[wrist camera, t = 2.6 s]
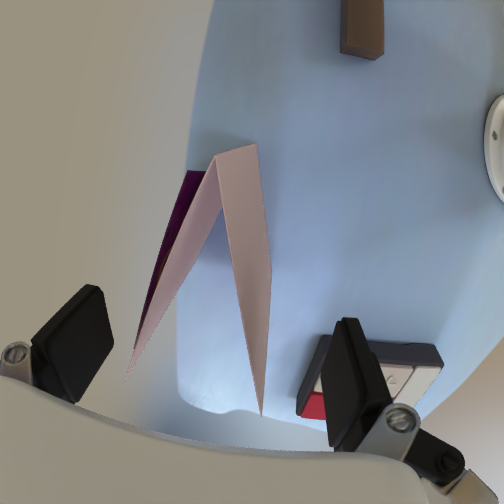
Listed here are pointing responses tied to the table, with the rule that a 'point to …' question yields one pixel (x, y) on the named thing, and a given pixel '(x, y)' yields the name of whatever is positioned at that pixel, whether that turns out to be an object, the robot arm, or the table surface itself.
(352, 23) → the walnut bar
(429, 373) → the calculator
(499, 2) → the table surface
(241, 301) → the greeting card
